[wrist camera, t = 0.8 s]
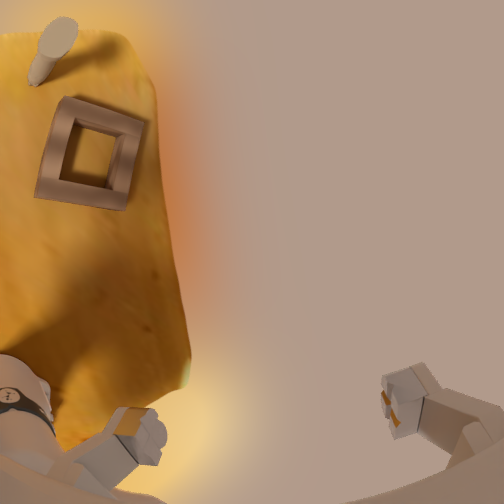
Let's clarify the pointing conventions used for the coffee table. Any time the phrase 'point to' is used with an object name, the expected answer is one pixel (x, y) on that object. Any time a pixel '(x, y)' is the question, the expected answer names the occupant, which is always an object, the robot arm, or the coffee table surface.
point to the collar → (120, 164)
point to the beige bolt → (52, 48)
